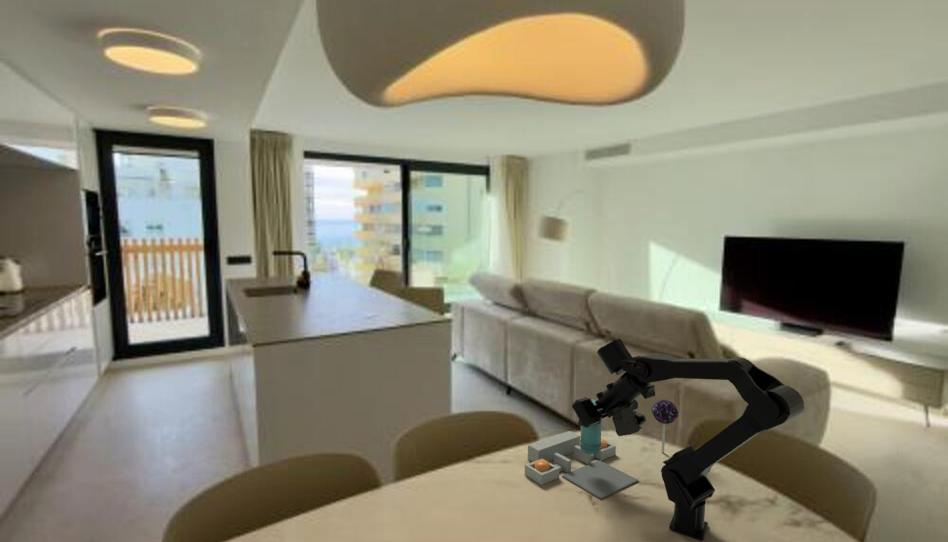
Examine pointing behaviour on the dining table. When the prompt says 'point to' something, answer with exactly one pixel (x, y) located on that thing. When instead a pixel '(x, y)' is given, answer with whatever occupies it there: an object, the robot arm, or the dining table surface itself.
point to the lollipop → (664, 415)
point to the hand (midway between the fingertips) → (586, 422)
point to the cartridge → (591, 438)
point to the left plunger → (542, 465)
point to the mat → (600, 479)
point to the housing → (560, 455)
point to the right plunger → (603, 444)
